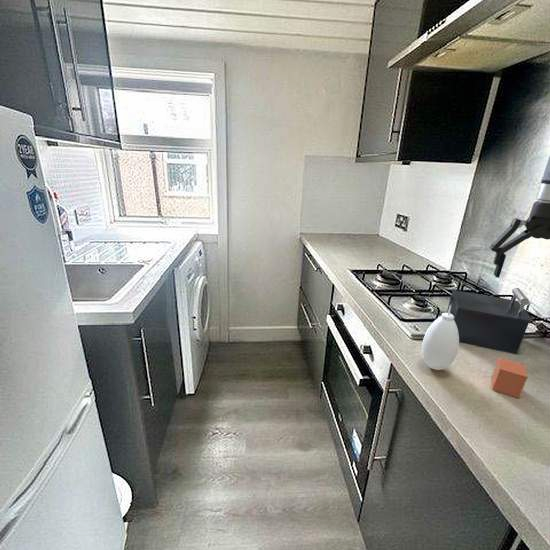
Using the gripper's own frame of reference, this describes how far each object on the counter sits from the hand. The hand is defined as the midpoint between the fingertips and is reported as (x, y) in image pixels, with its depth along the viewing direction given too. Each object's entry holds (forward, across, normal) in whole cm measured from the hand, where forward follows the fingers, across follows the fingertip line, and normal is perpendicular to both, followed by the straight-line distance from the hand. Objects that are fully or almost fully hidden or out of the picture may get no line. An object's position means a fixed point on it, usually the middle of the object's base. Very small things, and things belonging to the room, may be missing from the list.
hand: (525, 280), depth 84 cm
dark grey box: (+20, +7, 0) cm, 21 cm away
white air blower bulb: (+20, +20, +23) cm, 37 cm away
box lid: (+10, +6, 0) cm, 12 cm away
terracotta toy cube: (+20, +5, +24) cm, 32 cm away
